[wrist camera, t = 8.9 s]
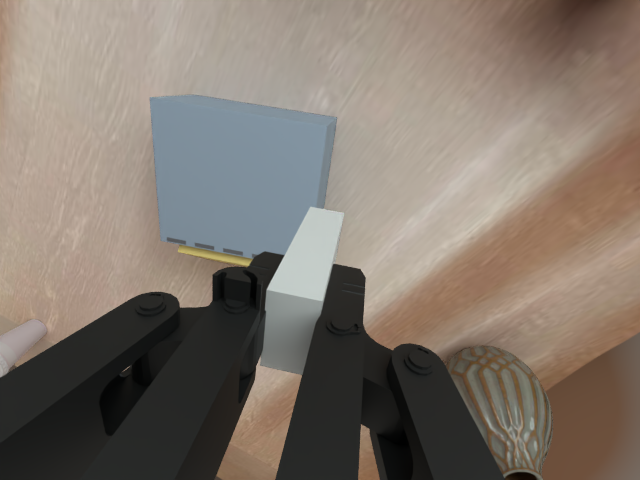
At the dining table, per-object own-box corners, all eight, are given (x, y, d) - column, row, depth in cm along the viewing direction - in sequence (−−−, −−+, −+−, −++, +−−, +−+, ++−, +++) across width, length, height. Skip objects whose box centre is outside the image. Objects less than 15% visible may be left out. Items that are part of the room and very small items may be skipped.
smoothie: (23, 307, 62) (-67, 364, 50) (55, 323, 63) (-25, 383, 50) (20, 330, 65) (-66, 389, 53) (51, 345, 66) (-26, 408, 53)
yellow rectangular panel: (180, 243, 42) (178, 251, 41) (291, 265, 40) (290, 274, 40) (210, 252, 51) (208, 259, 51) (300, 270, 50) (299, 277, 50)
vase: (449, 319, 50) (482, 428, 34) (540, 340, 49) (617, 461, 33) (422, 382, 56) (441, 501, 40) (504, 402, 55) (555, 530, 39)
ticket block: (193, 94, 42) (149, 97, 34) (337, 117, 41) (327, 126, 32) (196, 214, 49) (160, 240, 41) (319, 237, 48) (307, 269, 39)
